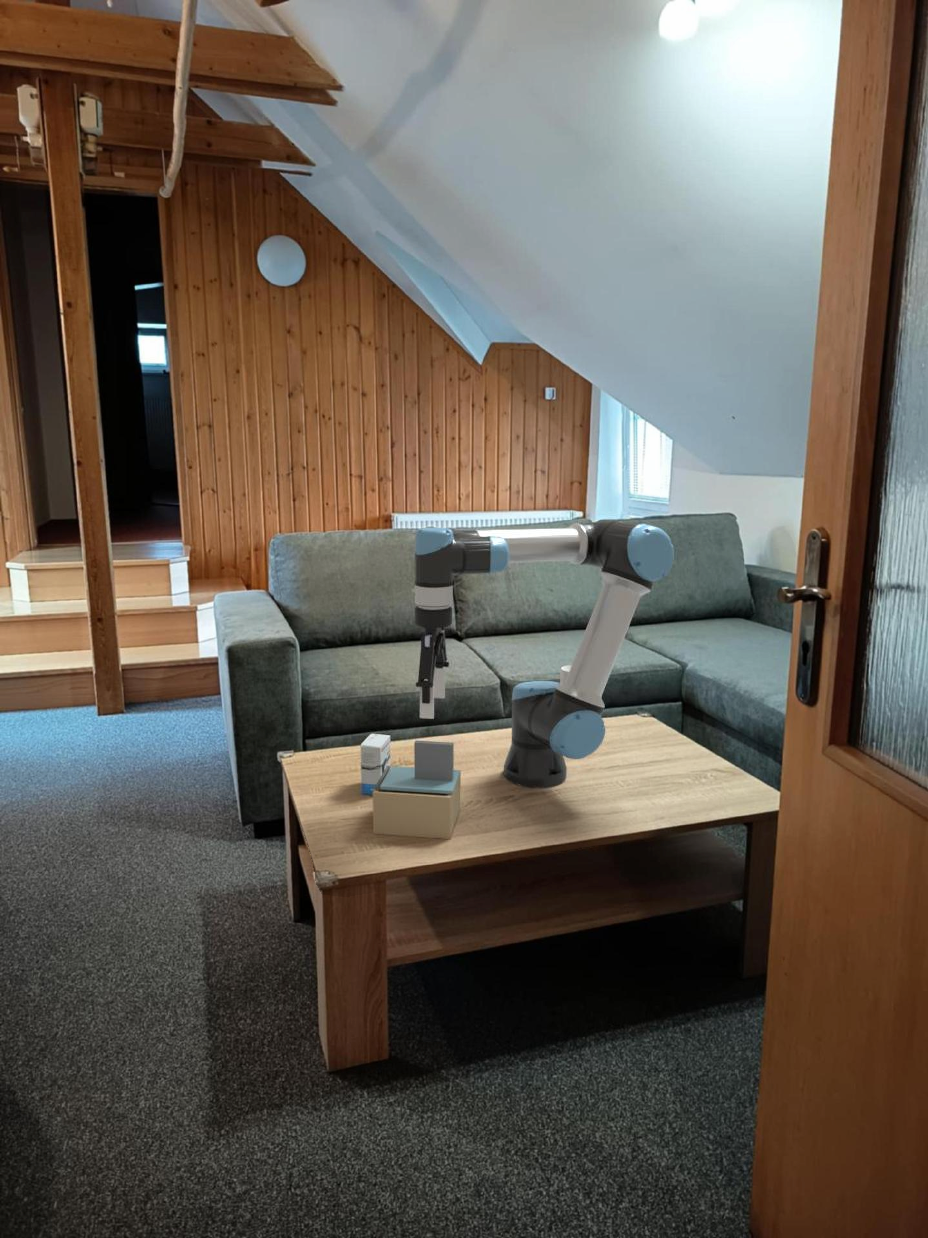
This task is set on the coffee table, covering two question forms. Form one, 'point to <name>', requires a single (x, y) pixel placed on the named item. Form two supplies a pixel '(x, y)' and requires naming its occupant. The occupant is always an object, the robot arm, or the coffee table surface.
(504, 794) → the coffee table surface
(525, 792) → the coffee table surface
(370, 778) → the ink box
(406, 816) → the carton
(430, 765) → the lid flap
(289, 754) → the coffee table surface
